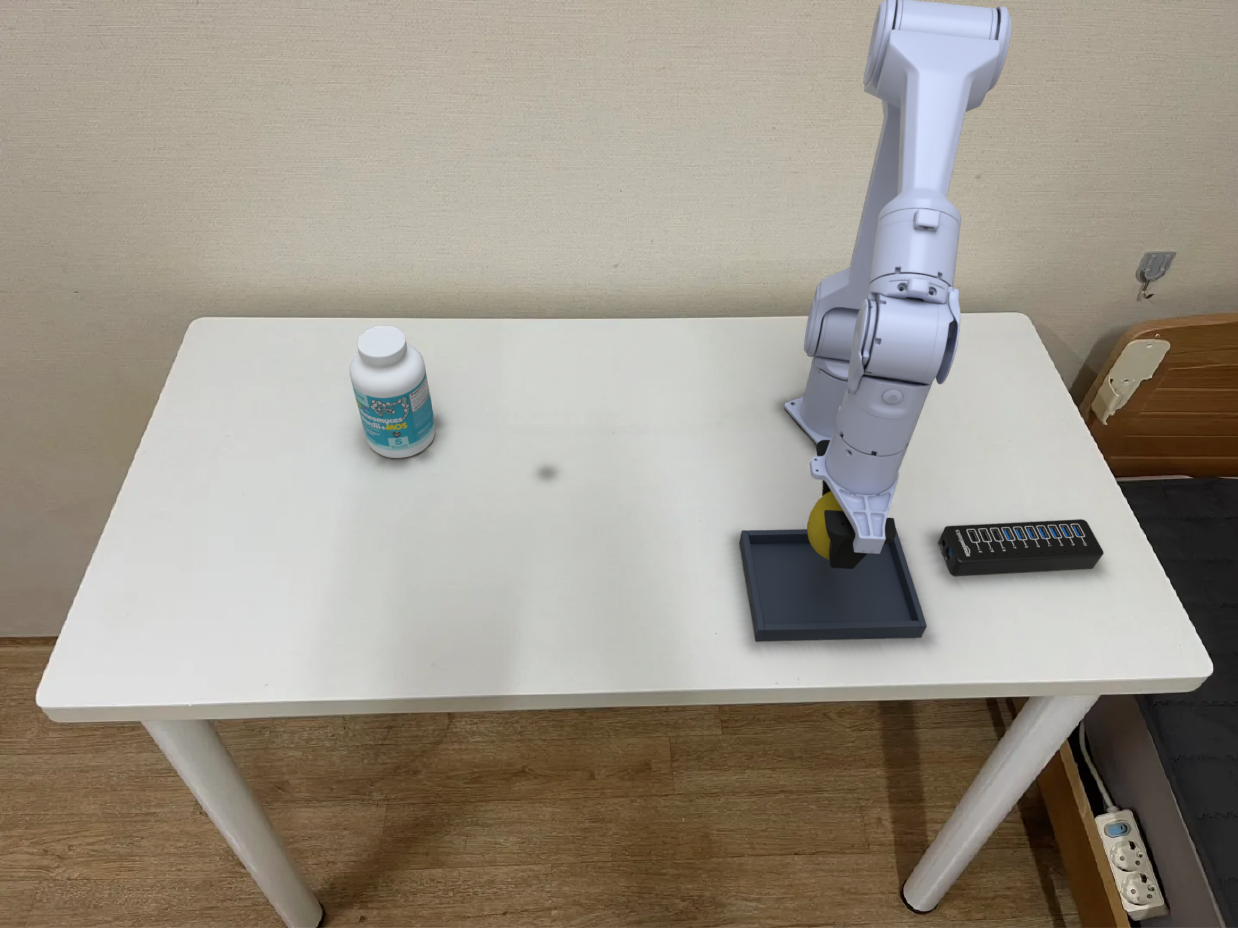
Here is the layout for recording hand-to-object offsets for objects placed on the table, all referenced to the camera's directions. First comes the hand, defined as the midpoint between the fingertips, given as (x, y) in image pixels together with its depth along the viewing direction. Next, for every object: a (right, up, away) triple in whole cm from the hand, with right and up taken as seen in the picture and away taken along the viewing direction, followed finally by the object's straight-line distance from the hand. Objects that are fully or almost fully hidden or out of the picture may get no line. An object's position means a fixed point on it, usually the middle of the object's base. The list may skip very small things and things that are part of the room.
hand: (837, 536), depth 79 cm
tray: (0, -5, +5) cm, 7 cm away
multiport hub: (+20, -3, +8) cm, 21 cm away
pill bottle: (-43, +9, +18) cm, 47 cm away
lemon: (0, -2, +2) cm, 3 cm away
